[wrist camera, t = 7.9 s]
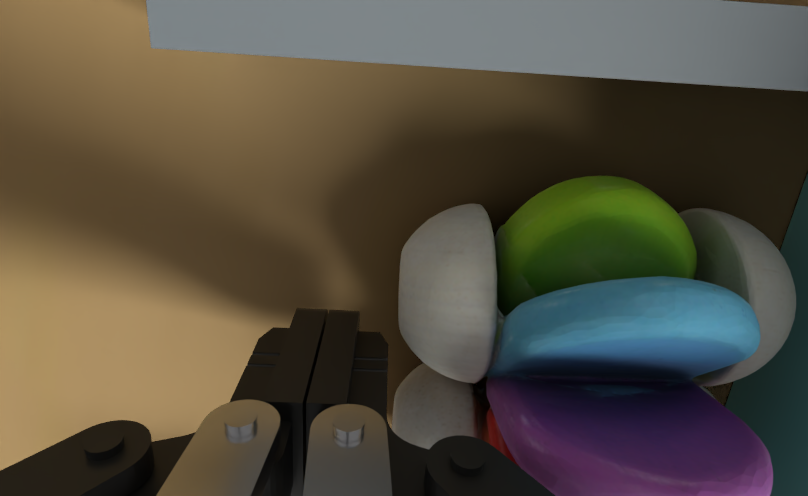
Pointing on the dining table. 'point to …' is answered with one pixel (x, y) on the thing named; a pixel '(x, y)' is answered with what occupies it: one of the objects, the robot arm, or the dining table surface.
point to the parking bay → (572, 56)
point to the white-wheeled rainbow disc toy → (594, 339)
